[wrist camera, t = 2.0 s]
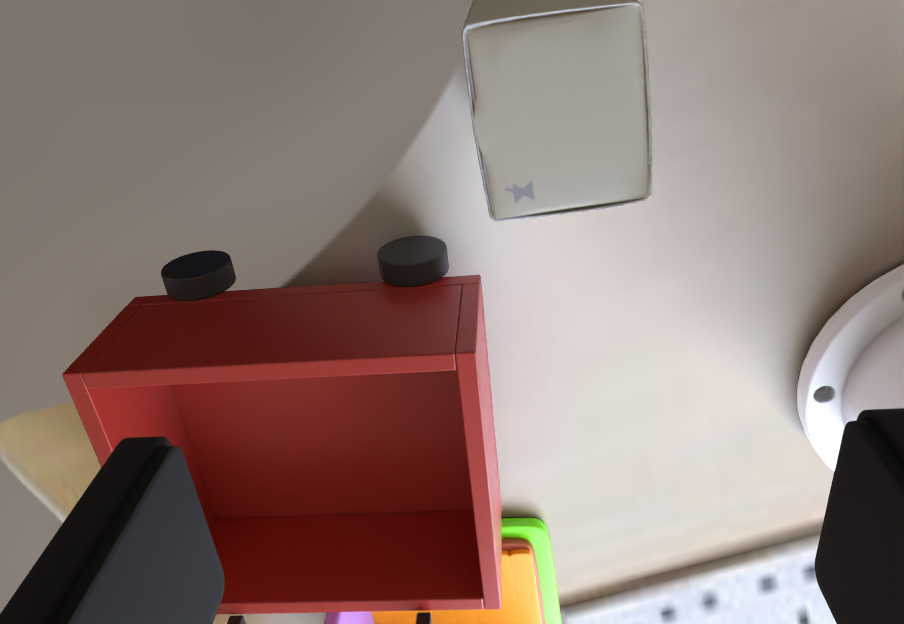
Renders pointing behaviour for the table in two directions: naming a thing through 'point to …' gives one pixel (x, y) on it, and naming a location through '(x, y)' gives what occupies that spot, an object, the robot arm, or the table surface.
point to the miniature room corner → (523, 586)
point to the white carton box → (559, 104)
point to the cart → (318, 429)
